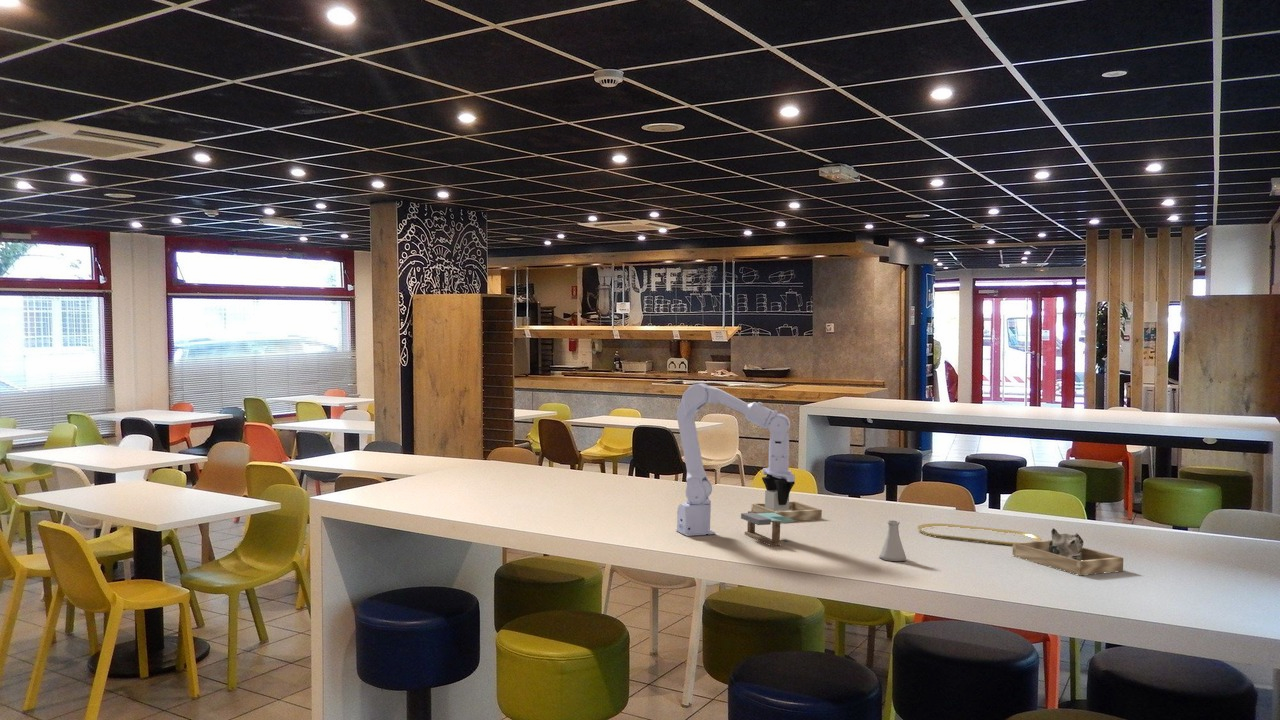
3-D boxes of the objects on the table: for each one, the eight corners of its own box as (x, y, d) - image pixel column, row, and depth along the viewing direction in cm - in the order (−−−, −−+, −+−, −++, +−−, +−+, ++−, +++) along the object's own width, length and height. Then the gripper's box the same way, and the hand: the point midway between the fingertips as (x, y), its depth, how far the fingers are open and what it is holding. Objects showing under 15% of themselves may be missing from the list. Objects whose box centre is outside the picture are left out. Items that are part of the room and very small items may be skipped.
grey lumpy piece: (1094, 568, 226) (1084, 529, 227) (1055, 573, 229) (1046, 534, 230) (1085, 557, 241) (1076, 520, 242) (1049, 562, 244) (1040, 526, 245)
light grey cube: (773, 510, 254) (774, 493, 254) (764, 507, 258) (765, 490, 258) (788, 509, 256) (789, 492, 255) (779, 506, 260) (780, 489, 260)
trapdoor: (759, 525, 248) (759, 520, 248) (739, 517, 259) (739, 512, 259) (793, 523, 252) (794, 518, 252) (772, 516, 263) (772, 510, 263)
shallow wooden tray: (1079, 575, 222) (1080, 561, 222) (1012, 555, 242) (1012, 543, 242) (1123, 571, 228) (1123, 557, 228) (1053, 552, 248) (1054, 539, 248)
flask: (875, 555, 240) (876, 518, 240) (902, 556, 239) (903, 519, 239) (882, 561, 232) (883, 523, 232) (910, 562, 232) (911, 524, 232)
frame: (773, 546, 247) (773, 522, 247) (743, 534, 263) (744, 511, 262) (781, 545, 248) (782, 521, 248) (751, 533, 264) (752, 510, 263)
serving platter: (921, 526, 283) (922, 521, 283) (1042, 538, 268) (1042, 533, 268) (913, 537, 266) (913, 531, 266) (1040, 551, 251) (1041, 545, 251)
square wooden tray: (776, 521, 282) (776, 512, 282) (751, 512, 297) (751, 503, 297) (821, 519, 289) (821, 509, 289) (795, 510, 304) (795, 501, 304)
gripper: (804, 458, 251) (803, 506, 252) (777, 452, 265) (776, 498, 265) (782, 459, 249) (781, 508, 249) (757, 453, 262) (755, 499, 262)
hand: (777, 503), depth 257 cm, fingers closed on light grey cube, 5 cm apart
